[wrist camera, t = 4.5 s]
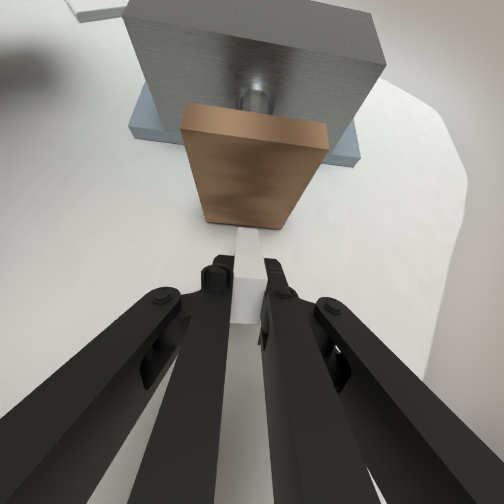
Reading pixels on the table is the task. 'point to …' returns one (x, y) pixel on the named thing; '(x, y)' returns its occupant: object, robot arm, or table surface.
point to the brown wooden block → (250, 160)
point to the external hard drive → (96, 9)
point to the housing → (254, 63)
